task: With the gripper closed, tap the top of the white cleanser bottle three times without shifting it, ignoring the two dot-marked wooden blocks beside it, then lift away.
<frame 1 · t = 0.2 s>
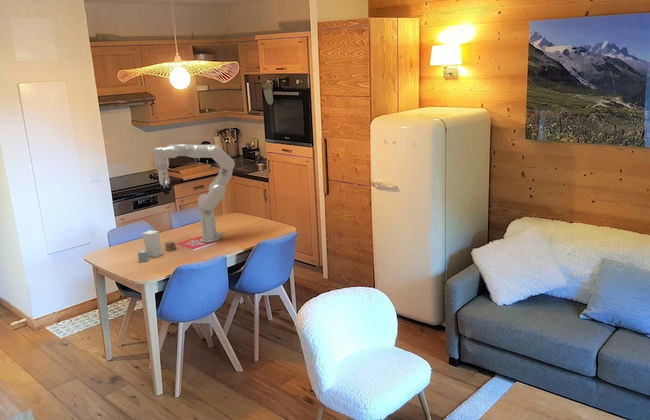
hand: (165, 192, 360), 37 cm above the table, tool pointing down, fingers open, 9 cm apart
slate block dot: (143, 260, 346), on the table
walnut block dot: (171, 250, 363), on the table
skincare box: (154, 255, 354), on the table
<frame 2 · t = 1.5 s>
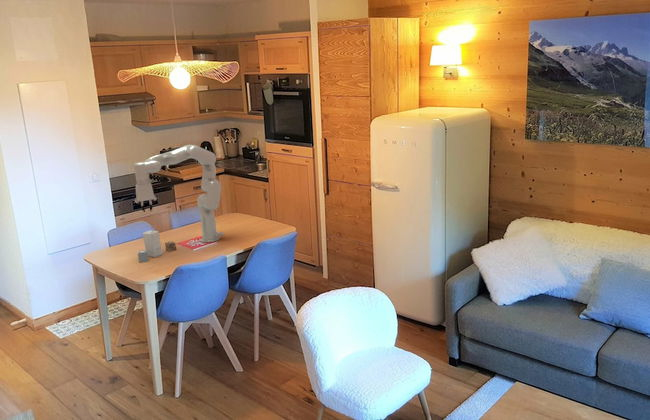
hand: (147, 210, 347), 29 cm above the table, tool pointing down, fingers open, 3 cm apart
nothing on the table moved.
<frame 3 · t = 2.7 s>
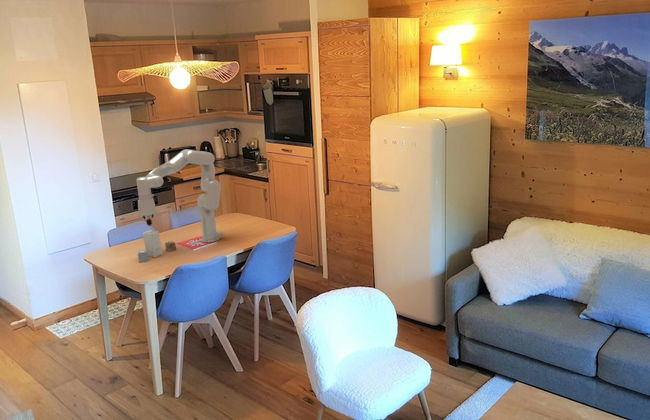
hand: (149, 225, 349), 20 cm above the table, tool pointing down, fingers closed
nothing on the table moved.
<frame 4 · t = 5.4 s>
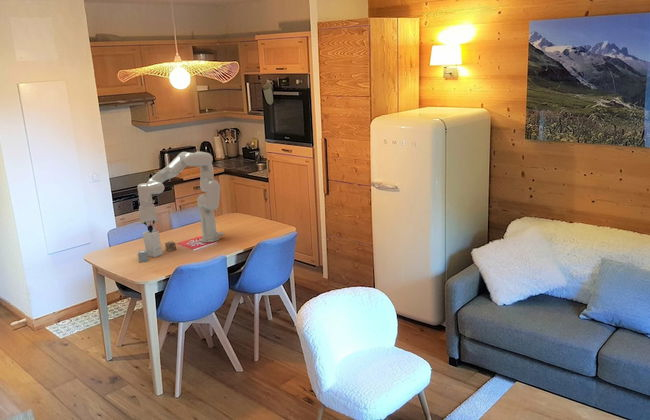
hand: (150, 231, 350), 16 cm above the table, tool pointing down, fingers closed
nothing on the table moved.
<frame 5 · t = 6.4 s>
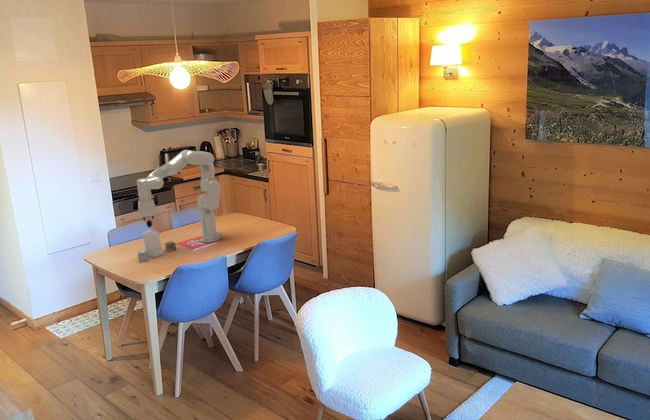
hand: (149, 226, 349), 19 cm above the table, tool pointing down, fingers closed
nothing on the table moved.
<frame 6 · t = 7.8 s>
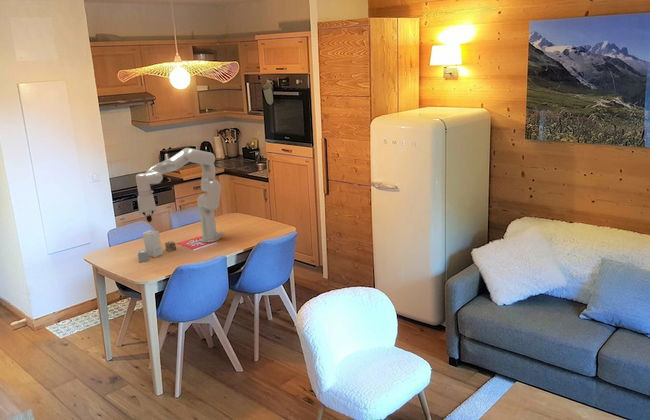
hand: (149, 221, 349), 22 cm above the table, tool pointing down, fingers closed
nothing on the table moved.
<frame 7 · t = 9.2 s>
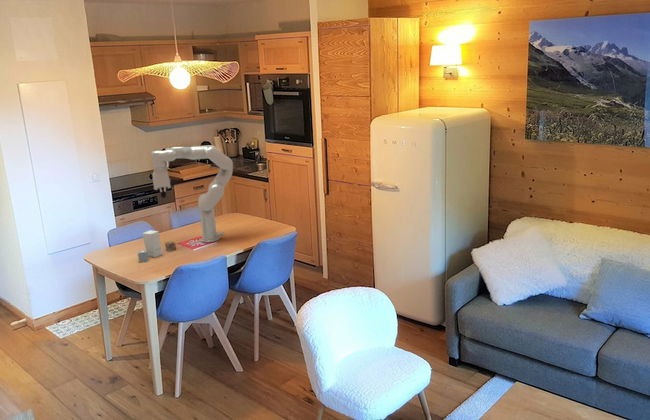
hand: (163, 197, 363), 33 cm above the table, tool pointing down, fingers closed
nothing on the table moved.
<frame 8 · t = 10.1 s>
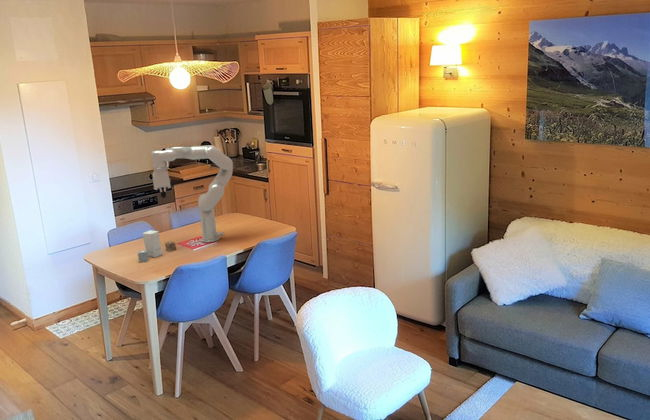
hand: (163, 197, 363), 33 cm above the table, tool pointing down, fingers closed
nothing on the table moved.
at the end: skincare box moved 0.2 cm from its start; skincare box tilted 0°; walnut block dot moved 0.1 cm from its start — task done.
